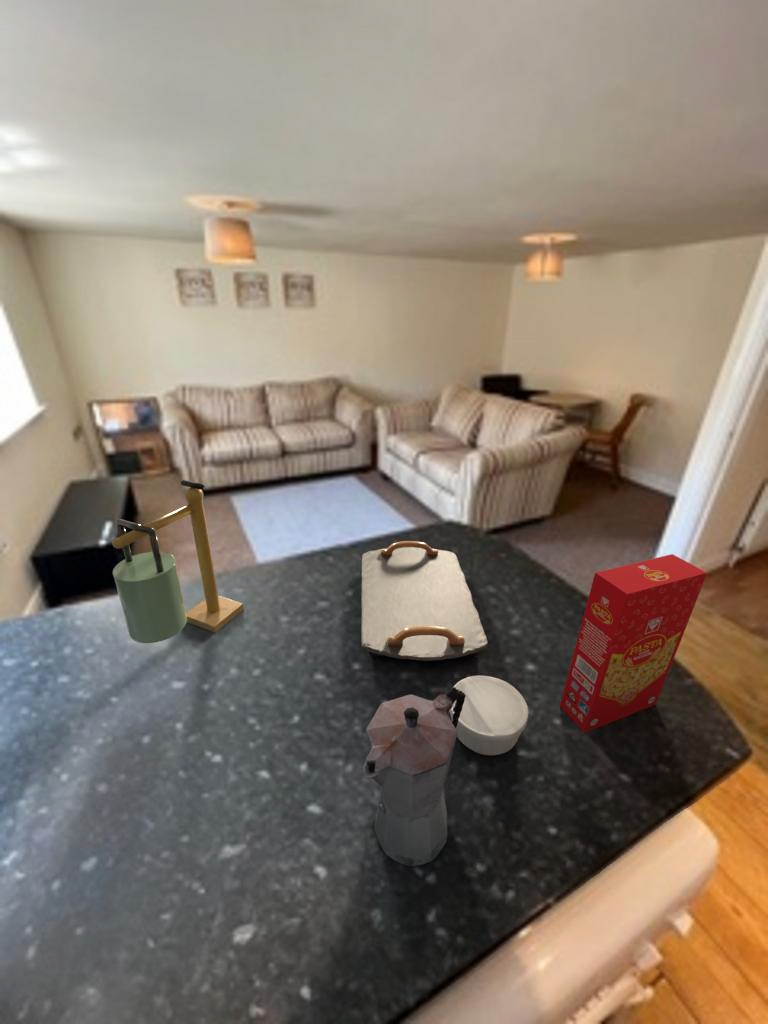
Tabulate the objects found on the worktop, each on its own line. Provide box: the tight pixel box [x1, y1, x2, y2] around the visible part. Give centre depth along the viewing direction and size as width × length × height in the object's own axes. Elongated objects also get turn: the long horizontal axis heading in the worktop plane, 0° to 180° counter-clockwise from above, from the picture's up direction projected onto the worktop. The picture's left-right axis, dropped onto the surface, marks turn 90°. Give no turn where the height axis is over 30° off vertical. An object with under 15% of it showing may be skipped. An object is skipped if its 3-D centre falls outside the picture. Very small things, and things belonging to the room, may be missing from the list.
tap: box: [111, 479, 245, 634], centre depth 78 cm, size 8×20×28 cm, turn 156°
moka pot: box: [362, 686, 466, 867], centre depth 50 cm, size 10×15×20 cm, turn 137°
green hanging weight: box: [112, 518, 188, 644], centre depth 73 cm, size 9×9×20 cm
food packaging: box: [559, 553, 708, 733], centre depth 66 cm, size 15×5×25 cm, turn 112°
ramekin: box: [448, 675, 529, 756], centre depth 66 cm, size 11×11×5 cm
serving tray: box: [360, 540, 489, 662], centre depth 93 cm, size 39×23×6 cm, turn 2°
